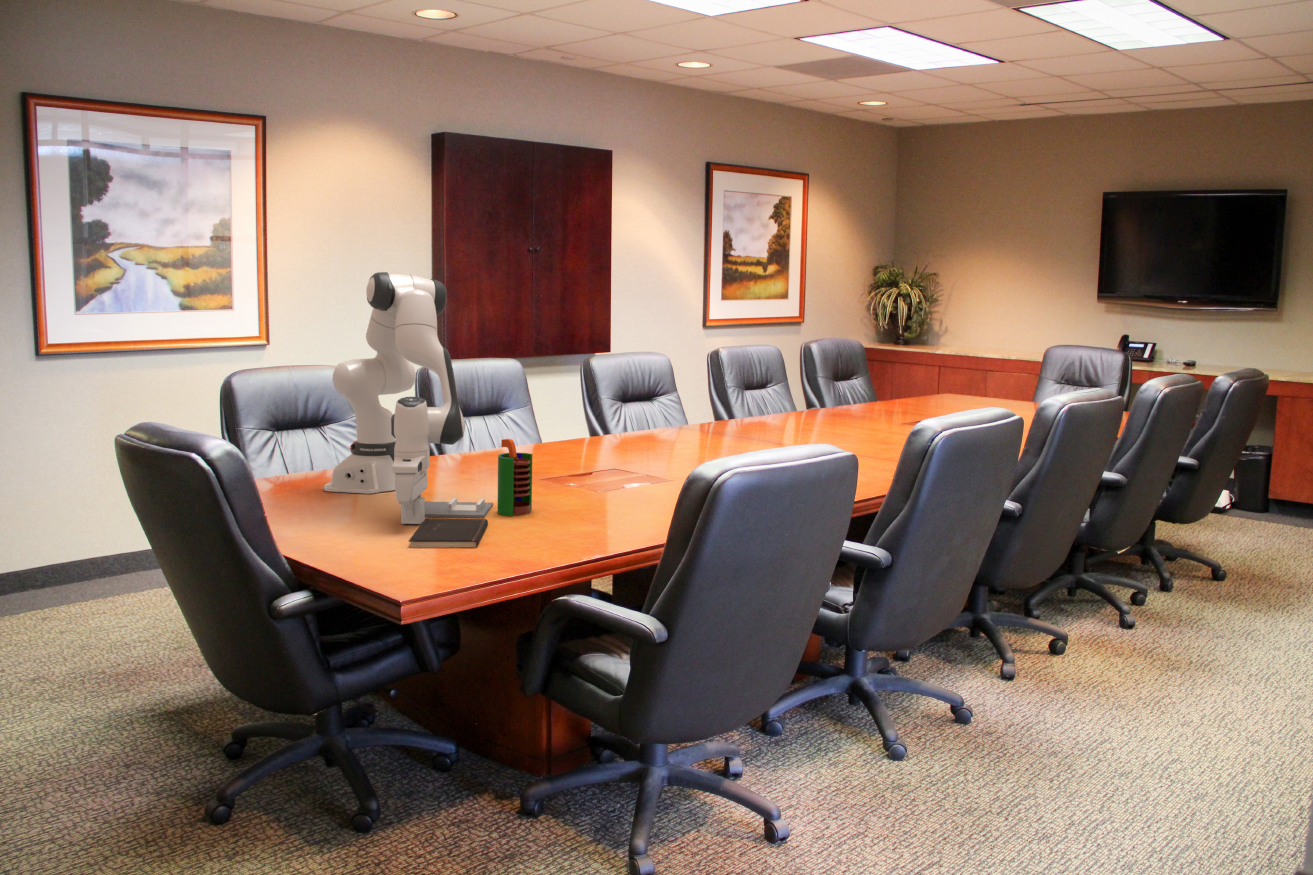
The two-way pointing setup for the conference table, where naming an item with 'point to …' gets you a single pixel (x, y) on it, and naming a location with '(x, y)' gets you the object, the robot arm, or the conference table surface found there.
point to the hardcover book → (449, 533)
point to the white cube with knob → (418, 512)
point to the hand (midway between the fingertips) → (412, 513)
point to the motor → (514, 481)
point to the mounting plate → (457, 509)
